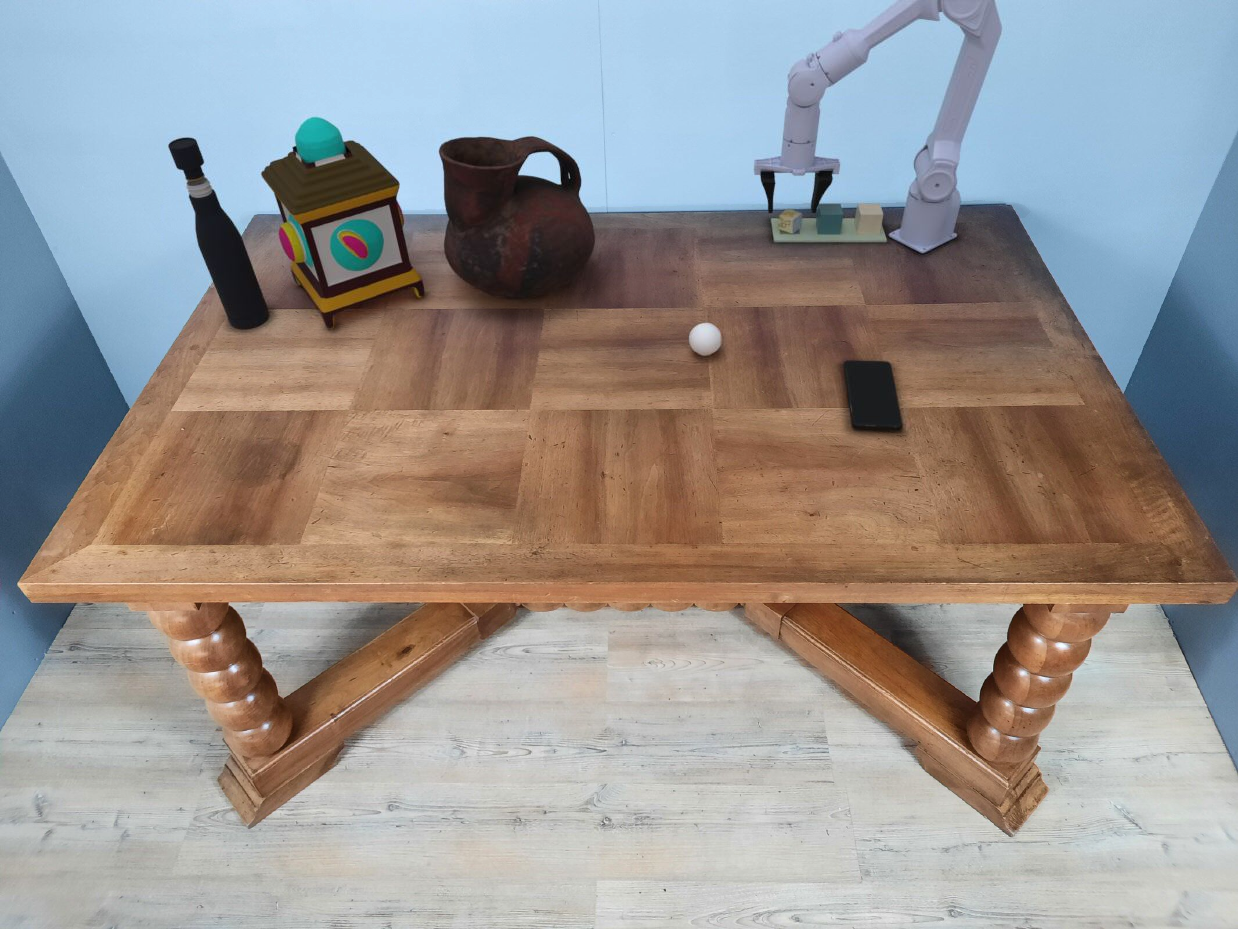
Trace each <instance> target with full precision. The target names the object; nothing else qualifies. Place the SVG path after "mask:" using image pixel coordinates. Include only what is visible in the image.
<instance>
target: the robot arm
mask: <svg viewBox="0 0 1238 929" xmlns="http://www.w3.org/2000/svg"><path fill="white" fill-rule="evenodd" d="M939 13H943V15H944V17H945V18H946V19H948V20H949V21H951V22H952V23H954V24H955V25H957V26H958V27H959V28H960V30H961V32H962V33H963V34H964V37H963V40H962V44H961V46H960V49H959V51H958V55H957V58H956V61H955V64H954V66H953V70H952V73H951V76H950V79H949V82H948V83H947V84H948V85H947V88H946V91H945V94H944V96H943V100H942V103H941V105H940V109H939V112H938V114H937V117H936V120H935V124H934V125H933V126H934V127H933V129H932V131H931V132H930V133H929V134H928V135H927V138H926V140H925V143H924V144H923V146H922V148H920V149H919V150H918V151H917V153H916V155H915V156H914V159H913V169H914V172H915V178H914V180H913V181H912V182H911V183H910V185H909V187H908V193H907V196H906V201H905V205H904V211H903V214H902V219H901V224H900V228H897V229H896V230H894V231H891V232H889V233H888V237H889V238H891V239H893V240H895V241H896V242H899V243H901V244H902V245H905V246H906V247H908V248H910V249H912V250H914V251H916V252H919V254H926V253H927V252H929V251H932V250H933V249H936V248H937V247H939V246H941V245H944V244H945V243H947V242H949V241H951V240H953V239H955V238H957V237H958V234H957V233H956V232H954V230H955V228H956V223H957V219H958V216H959V212H960V208H961V205H962V204H961V203H962V198H961V194H960V191H959V190H958V188H957V185H958V178H957V169H958V166H959V164H960V157H961V148H962V143H963V139H964V137H965V134H966V131H967V128H968V126H969V123H970V121H971V118H972V115H973V113H974V110H975V107H976V104H977V101H978V98H979V96H980V93H981V89H982V87H983V85H984V83H985V80H986V77H987V74H988V71H989V68H990V67H991V63H992V60H993V57H994V55H995V52H996V49H997V46H998V44H999V41H1000V39H1001V35H1002V31H1003V26H1002V22H1001V19H1000V15H999V11H998V8H997V4H996V0H896V1H895V2H893V3H892V5H890V6H889V7H887V8H886V9H885V10H883V12H881V13H880V14H879V15H877V16H876V17H875V18H873V19H872V20H871V21H870V22H869V23H867V24H866V25H864V26H863V27H862V28H861V29H854V28H847V29H846V30H844V31H843V32H842V31H841V30H838V31H836V32H835V33H834V34H832V39H831V41H829V42H828V43H827V44H825V45H824V46H822V47H821V48H820V49H818V50H817V51H816V52H814V53H813V52H809V53H808V54H807V55H806V59H805V58H801V59H800V60H798V61H797V62H795V63H794V64H793V65H792V66H791V67H790V70H789V73H788V74H787V94H788V96H787V98H786V108H785V111H784V122H783V130H782V131H783V132H782V141H781V151H780V152H781V153H780V155H779V156H773V157H768V158H759V159H754V163H753V175H754V176H759V177H760V182H761V185H762V187H763V190H764V193H765V195H766V199H767V210H768V212H767V213H768V214H773V213H774V197H775V196H774V195H775V188H776V175H775V174H792V175H793V176H794V177H803V176H805V175H806V174H807V173H808V174H813V173H814V181H813V189H812V196H811V201H810V210H811V214H817V210H818V205H819V204H820V202H821V200H822V198H823V196H824V195H825V193H826V192H827V190H828V189H829V188H830V186H831V185H832V183H833V179H834V177H833V175H839V174H840V169H841V161H840V158H831V157H823V156H816V151H817V150H816V149H817V142H818V133H819V124H820V117H821V108H820V106H821V104H820V103H821V101H822V99H823V98H824V95H825V93H826V90H827V88H830V87H833V86H835V84H837V83H839V81H841V80H842V79H844V78H846V77H847V76H849V75H850V74H851V73H852V72H854V71H855V70H857V69H859V68H860V67H861V66H863V65H864V64H866V63H867V61H868V58H869V54H870V51H871V50H872V49H874V48H875V47H877V46H878V45H880V44H881V43H883V42H885V41H886V40H888V39H889V38H891V37H893V36H894V35H895V34H897V33H899V32H900V31H903V29H905V28H907V27H908V26H909V25H911V24H913V23H915V22H916V21H918V20H923V21H924V20H925V21H932V22H933V21H934V22H939V21H941V18H940V14H939Z"/></svg>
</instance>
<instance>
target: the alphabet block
mask: <svg viewBox="0 0 1238 929" xmlns="http://www.w3.org/2000/svg"><path fill="white" fill-rule="evenodd" d="M778 218H779V228H778V229H779V230H782V231H785V232H788V233H791V234H794V233H795V232H796V231H797V230H798V229H800V228H801V224H802V218H803V212H800V211H796V210H794V209H792V208H791V209H790V208H787V209H785V210H784V211H783V212H781V213H780V214H779V217H778Z"/></svg>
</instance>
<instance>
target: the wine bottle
mask: <svg viewBox="0 0 1238 929" xmlns="http://www.w3.org/2000/svg"><path fill="white" fill-rule="evenodd" d="M199 146H200V145H199V144H198V141H197V139H196V138H193V137H189V136H188V137H186V136H185V137H179V138H176V139H173V140H172V141H170V142H169V143H168V150H169V152H170V155H171V157H172V160H173V163H174V165H175V167H176V169H177V170H179V171H183V174H184V176H185V180H186V189H187V190H188V191H187V192H188V199H189V201H190V204H191V206H192V209H193V211H194V226H195V228H194V229H195V235H196V236H195V237H196V241H197V246H198V248H199V251H200V253H201V256H202V258H203V260H204V263H205V266H206V268H207V271H208V273H209V276H210V278H211V281H212V283H213V285H214V287H215V290H216V293H217V295H218V298H219V300H220V303H221V305H222V307H223V310H224V312H225V315H226V317H227V320H228V322H229V324H230V326H231V327H233V328H235V329H239V330H248V329H254V328H257V327H260V326H261V325H263V324H264V323H265V322H267V320H268V319H269V317H270V311H269V308H268V305H267V302H266V299H265V296H264V294H263V291H262V288H261V286H260V283H259V280H258V278H257V275H256V273H255V272H256V271H255V270H254V267H253V265H252V261H251V259H250V256H249V253H248V250H247V248H246V246H245V242H244V239H243V237H242V235H241V233H240V231H239V229H238V227H237V226H236V225H235V223H234V222H233V220H232V218H231V217H230V216H229V215H228V213H227V212H226V211H225V210H224V209H223V208H222V206H221V203H220V201H219V198H218V195H217V192H216V191H215V189H214V188H213V186H212V185H211V181H210V180H209V179H208V178H207V177H206V174H205V173H204V171H203V167H202V166H203V165H204V164H205V160H204V157H203V155H202V154H203V153H202V152H201V148H200V147H199Z"/></svg>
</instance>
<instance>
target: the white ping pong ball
mask: <svg viewBox="0 0 1238 929" xmlns="http://www.w3.org/2000/svg"><path fill="white" fill-rule="evenodd" d="M688 342H689V346H690V348H691V350H693V352H695V353H697V354H698V355H701V356H702V357H703V356H704V357H707V356H710V355H712V354H714V353H715V352H717V351H718V350H719V349H720V348H721V346H722V333H721V331H720V329H719V328H718V327H717V326H716V325H714V324H713V323H710V322H702V323H699V324H696V326H694V327H693V328H692V329H691V331H690V333H689V336H688Z"/></svg>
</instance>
